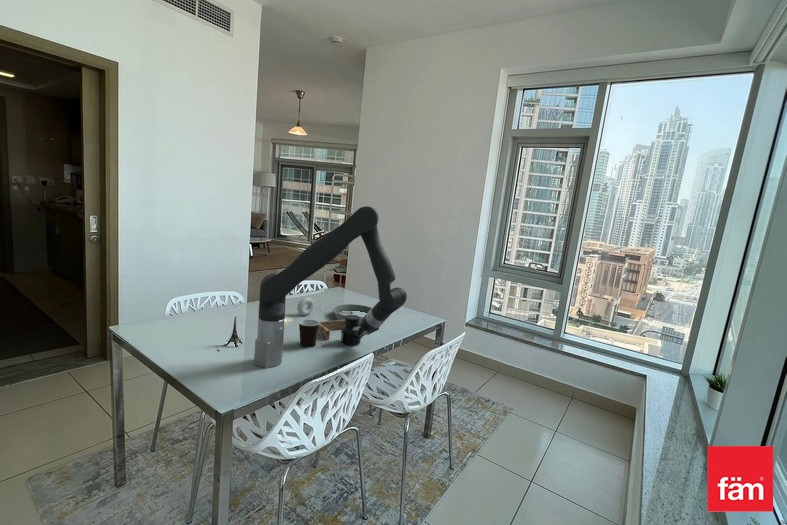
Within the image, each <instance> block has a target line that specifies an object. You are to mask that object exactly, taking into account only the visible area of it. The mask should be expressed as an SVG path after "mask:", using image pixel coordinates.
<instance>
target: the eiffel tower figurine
mask: <svg viewBox="0 0 787 525" xmlns="http://www.w3.org/2000/svg"><path fill="white" fill-rule="evenodd" d="M227 341H228V340H227ZM230 342H234V344H235V347H236V348H235V349H238V348H239V347H238V345H237V343H241V344H242V343H243V341H242V339H241V338H240V336H239V335H238V332H237V316H234V322H233V329H232V332H231V335H230V338H229V341H228V343H227V344H226V345H224V347H226V346H227V345H228V344H229V343H230ZM242 345H243V344H242ZM237 347H238V348H237Z"/></svg>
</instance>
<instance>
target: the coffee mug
mask: <svg viewBox="0 0 787 525" xmlns="http://www.w3.org/2000/svg"><path fill="white" fill-rule="evenodd" d="M320 322H321V321H319V320H316V319H311V318H310V319H309V318H307V319H302V320H301V319H300V320H299V322H298V326H299V327H298V330H299V331H298V332H299V345H300V347H301V346H302V348H306V349H311V348H314V347H315V346H316V344H317V338H318V335H319V334H318V329H319V324H320Z"/></svg>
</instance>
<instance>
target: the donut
mask: <svg viewBox="0 0 787 525" xmlns="http://www.w3.org/2000/svg"><path fill="white" fill-rule="evenodd" d="M305 305H307V306H306V308H305ZM296 307H297V308H296V310H297V313H298V314H299V315H300V316H303V317H304V316H308V315H310V314H311V313H312V312H313V311H314V307H315V301H314V300H313V299H312V298H311V297H307V296H306V297H302V298H301V299H300V300H299V301H298V304H297V306H296Z"/></svg>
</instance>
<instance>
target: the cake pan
mask: <svg viewBox="0 0 787 525" xmlns="http://www.w3.org/2000/svg"><path fill="white" fill-rule="evenodd" d="M372 308H373V307H371V306H368V305H363V304H357V303H356V304H355V303H343V304H338V305H335V306H333V307H332V312H333V313H334V317H336V318H337V319H336V318H335V319H336V320H345V316H346V314H341V313H339V312H342V311H360V312H365V313H368V312H369V311H370V310H371V309H372ZM342 313H343V312H342ZM363 318H364V317H360V323H362V319H363Z"/></svg>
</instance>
